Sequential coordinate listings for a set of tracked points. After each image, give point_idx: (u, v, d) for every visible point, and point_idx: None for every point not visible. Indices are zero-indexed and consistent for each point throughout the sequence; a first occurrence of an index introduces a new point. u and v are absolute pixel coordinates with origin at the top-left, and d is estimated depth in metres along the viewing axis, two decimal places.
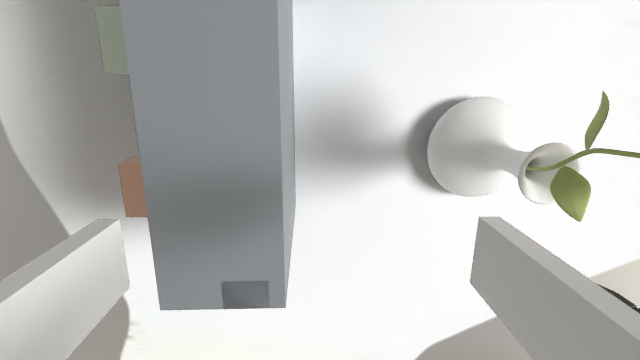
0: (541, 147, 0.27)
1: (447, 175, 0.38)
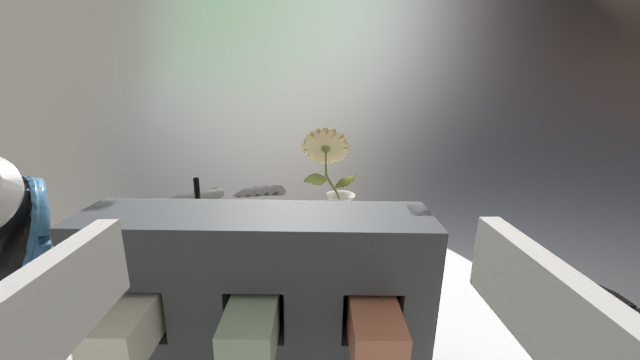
0: (328, 196, 0.58)
1: None
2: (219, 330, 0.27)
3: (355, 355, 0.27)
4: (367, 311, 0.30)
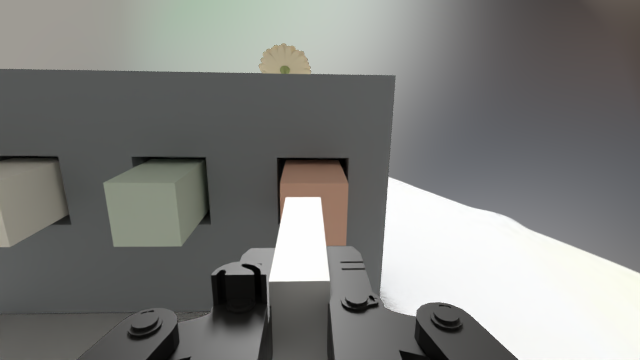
0: None
1: None
2: (116, 178, 0.23)
3: (281, 204, 0.22)
4: (302, 169, 0.25)
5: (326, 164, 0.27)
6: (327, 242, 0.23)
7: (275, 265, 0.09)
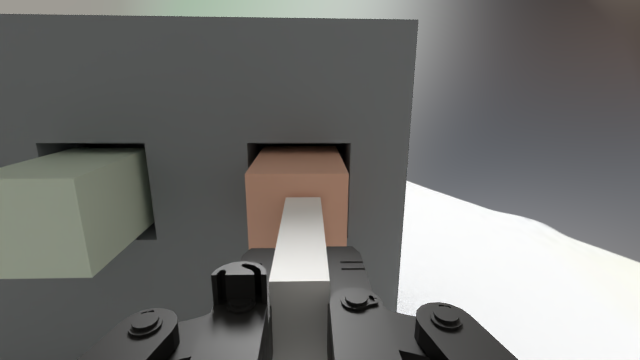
0: None
1: None
2: None
3: (248, 205, 0.15)
4: (283, 156, 0.18)
5: (318, 150, 0.20)
6: None
7: (275, 265, 0.09)
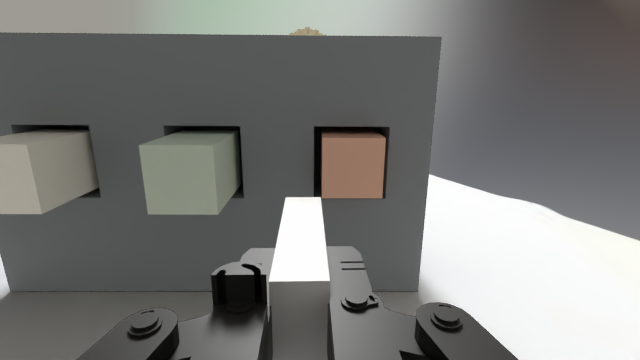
0: None
1: None
2: (151, 142, 0.21)
3: (323, 157, 0.24)
4: (338, 131, 0.27)
5: (360, 128, 0.29)
6: (364, 195, 0.25)
7: (275, 265, 0.09)
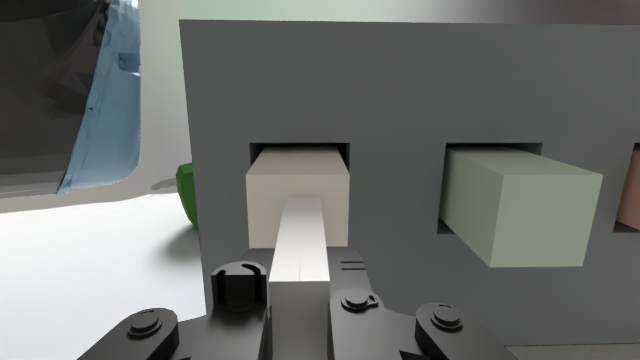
0: None
1: None
2: (497, 169, 0.16)
3: None
4: (635, 147, 0.22)
5: None
6: None
7: (275, 265, 0.09)
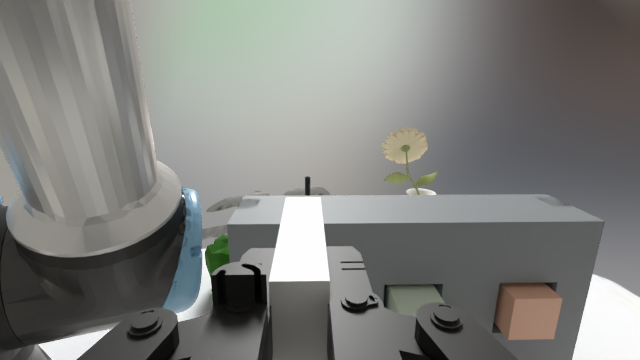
0: (410, 194, 0.59)
1: None
2: None
3: (512, 312, 0.32)
4: None
5: None
6: (541, 337, 0.32)
7: (275, 265, 0.09)
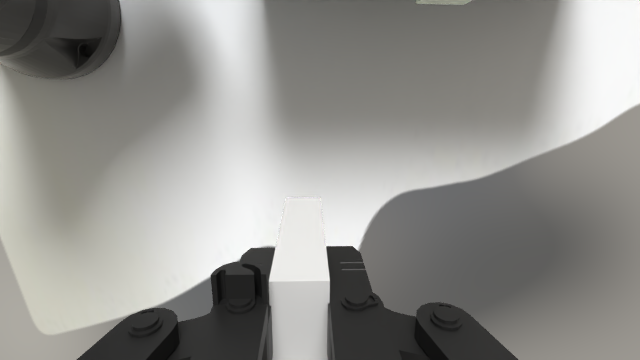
0: None
1: None
2: None
3: None
4: None
5: None
6: None
7: (275, 265, 0.09)
